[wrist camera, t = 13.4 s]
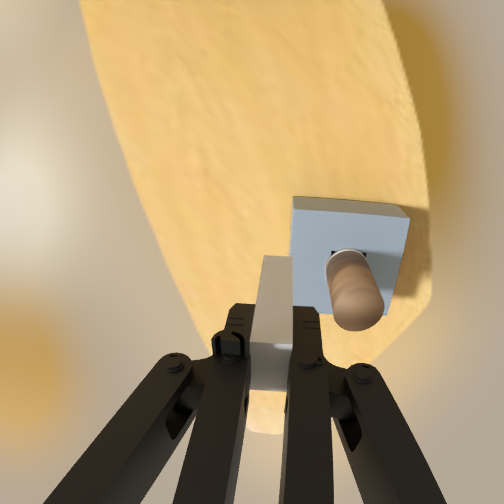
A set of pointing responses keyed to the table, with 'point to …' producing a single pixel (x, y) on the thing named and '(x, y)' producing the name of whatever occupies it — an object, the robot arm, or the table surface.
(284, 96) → the table surface
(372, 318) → the peg
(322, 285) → the seat block
